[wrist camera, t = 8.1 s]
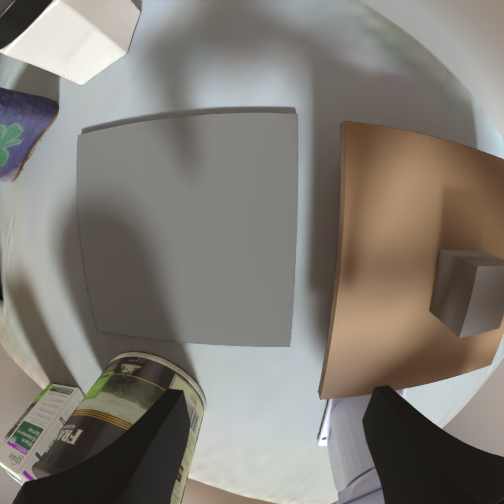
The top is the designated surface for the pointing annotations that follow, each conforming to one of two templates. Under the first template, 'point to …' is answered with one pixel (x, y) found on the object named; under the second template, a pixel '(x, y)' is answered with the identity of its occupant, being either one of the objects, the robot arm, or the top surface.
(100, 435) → the coffee can
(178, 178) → the mat
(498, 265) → the lid
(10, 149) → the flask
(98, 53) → the jar
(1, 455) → the syrup box
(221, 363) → the top surface
